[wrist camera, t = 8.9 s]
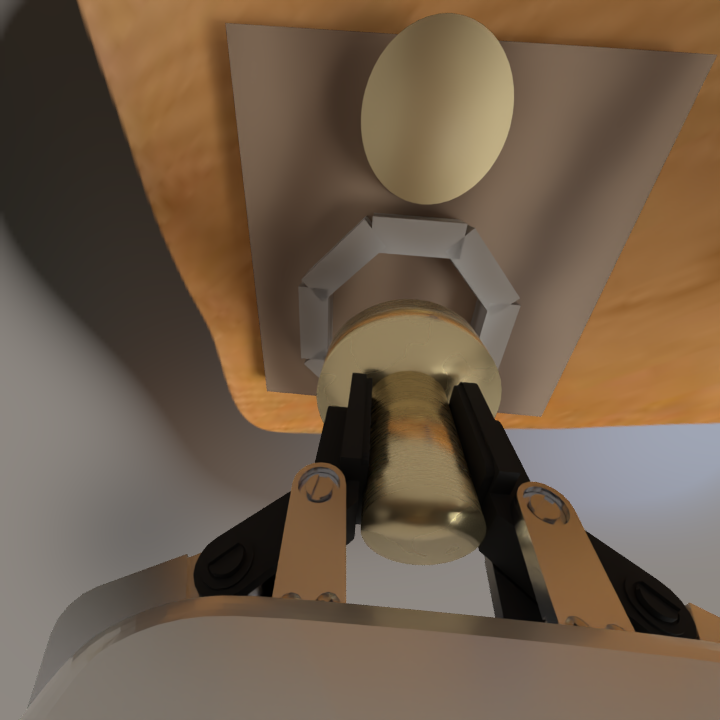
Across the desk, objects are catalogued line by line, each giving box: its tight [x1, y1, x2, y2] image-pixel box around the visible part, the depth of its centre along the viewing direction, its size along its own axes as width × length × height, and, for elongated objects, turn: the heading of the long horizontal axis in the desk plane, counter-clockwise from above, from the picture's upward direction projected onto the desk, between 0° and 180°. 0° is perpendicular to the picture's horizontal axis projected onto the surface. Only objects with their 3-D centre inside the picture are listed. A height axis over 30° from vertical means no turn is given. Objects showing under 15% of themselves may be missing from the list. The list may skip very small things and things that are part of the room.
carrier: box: [225, 13, 717, 417], centre depth 17 cm, size 20×19×4 cm
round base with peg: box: [317, 299, 502, 565], centre depth 10 cm, size 7×7×7 cm
